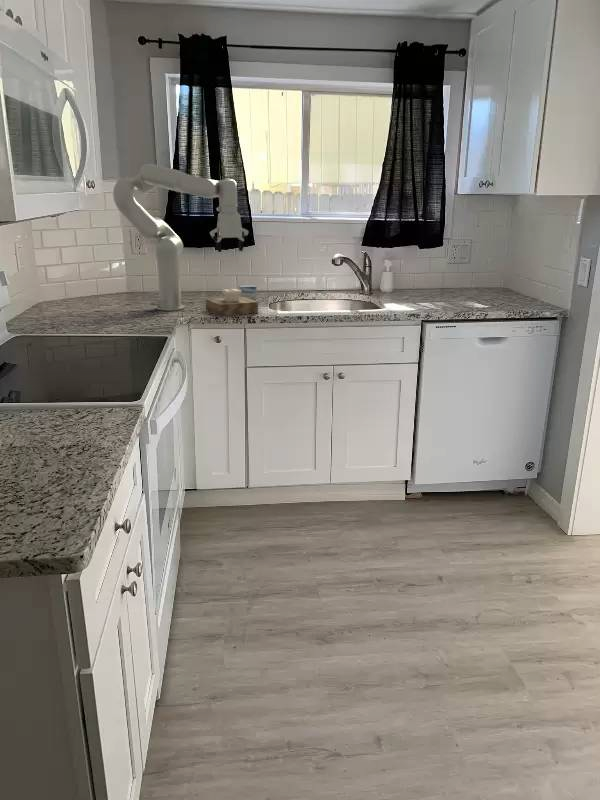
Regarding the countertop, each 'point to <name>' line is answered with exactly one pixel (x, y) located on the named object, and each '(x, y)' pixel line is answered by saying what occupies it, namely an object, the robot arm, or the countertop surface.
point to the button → (231, 294)
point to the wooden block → (231, 306)
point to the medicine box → (248, 292)
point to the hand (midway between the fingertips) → (230, 251)
